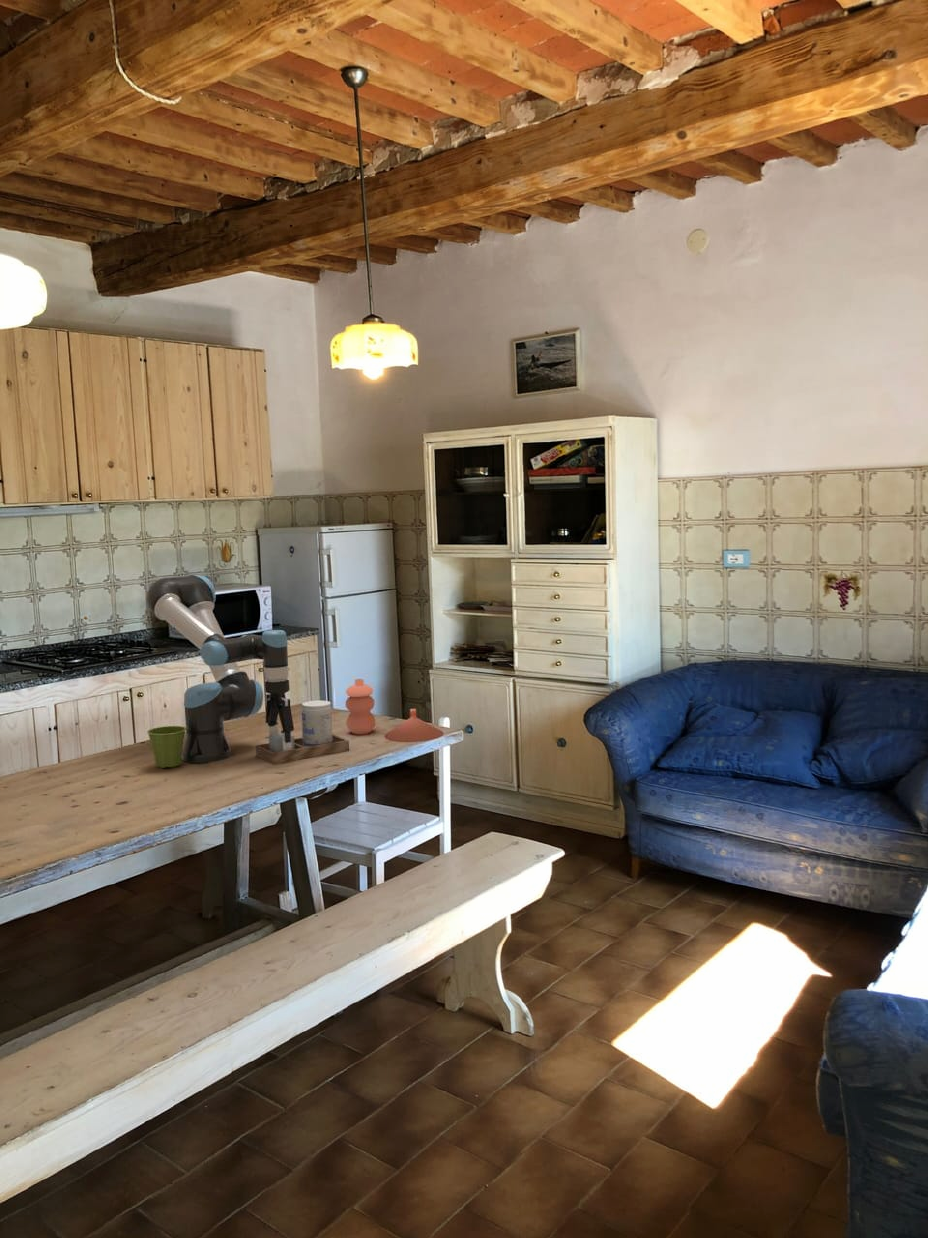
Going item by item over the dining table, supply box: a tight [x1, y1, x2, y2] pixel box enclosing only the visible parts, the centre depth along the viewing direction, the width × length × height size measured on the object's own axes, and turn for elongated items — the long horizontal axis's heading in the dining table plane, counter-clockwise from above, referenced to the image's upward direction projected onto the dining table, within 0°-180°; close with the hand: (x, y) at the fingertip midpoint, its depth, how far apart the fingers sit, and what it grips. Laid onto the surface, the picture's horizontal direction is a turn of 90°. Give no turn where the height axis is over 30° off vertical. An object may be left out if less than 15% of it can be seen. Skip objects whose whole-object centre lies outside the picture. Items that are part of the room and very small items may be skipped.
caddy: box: [255, 733, 350, 765], centre depth 320 cm, size 26×14×3 cm, turn 123°
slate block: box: [268, 732, 295, 753], centre depth 316 cm, size 6×6×6 cm
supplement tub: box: [301, 700, 333, 747], centre depth 323 cm, size 10×10×15 cm
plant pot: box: [146, 725, 186, 769], centre depth 310 cm, size 12×12×11 cm
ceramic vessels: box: [345, 678, 444, 743], centre depth 341 cm, size 35×21×19 cm, turn 72°
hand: (280, 749), depth 316 cm, fingers open, 10 cm apart
